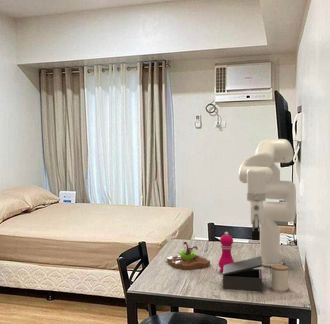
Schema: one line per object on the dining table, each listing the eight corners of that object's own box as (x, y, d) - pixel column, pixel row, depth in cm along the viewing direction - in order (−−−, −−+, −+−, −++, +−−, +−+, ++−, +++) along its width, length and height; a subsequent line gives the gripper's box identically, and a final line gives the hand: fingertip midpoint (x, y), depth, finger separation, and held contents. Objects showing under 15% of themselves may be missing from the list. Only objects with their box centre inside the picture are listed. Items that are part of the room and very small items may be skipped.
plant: (193, 257, 259) (193, 236, 258) (215, 266, 241) (215, 244, 240) (160, 261, 252) (160, 240, 251) (181, 271, 233) (181, 248, 233)
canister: (281, 286, 208) (282, 264, 207) (291, 291, 201) (291, 268, 200) (267, 288, 206) (268, 265, 206) (277, 293, 200) (277, 269, 199)
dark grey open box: (261, 283, 213) (261, 269, 213) (261, 293, 199) (262, 278, 199) (224, 280, 218) (224, 266, 218) (222, 290, 204) (222, 275, 204)
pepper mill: (232, 276, 224) (232, 233, 223) (216, 274, 228) (216, 232, 226) (236, 272, 230) (236, 231, 229) (221, 270, 234) (221, 229, 233)
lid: (261, 257, 212) (260, 256, 212) (262, 266, 198) (261, 264, 198) (224, 266, 218) (224, 264, 218) (223, 275, 204) (222, 273, 204)
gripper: (266, 199, 196) (265, 244, 197) (264, 195, 210) (264, 236, 211) (246, 199, 199) (246, 243, 200) (246, 194, 213) (246, 235, 214)
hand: (255, 239), depth 206 cm, fingers closed
